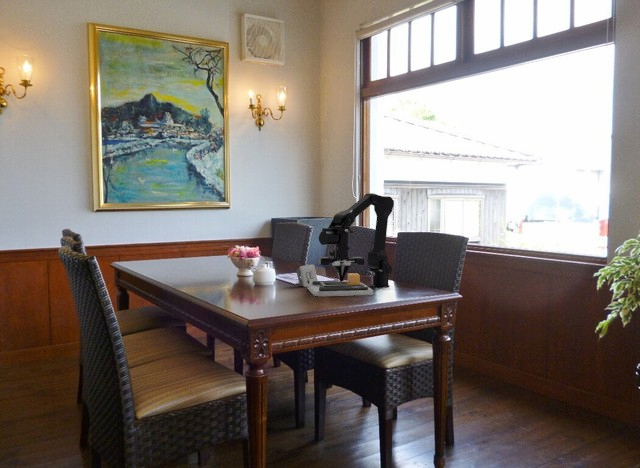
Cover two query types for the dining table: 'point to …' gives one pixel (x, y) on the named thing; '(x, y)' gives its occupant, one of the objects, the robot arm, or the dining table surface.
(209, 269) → the dining table surface
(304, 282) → the electrical switch
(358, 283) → the orange cube block
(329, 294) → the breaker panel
